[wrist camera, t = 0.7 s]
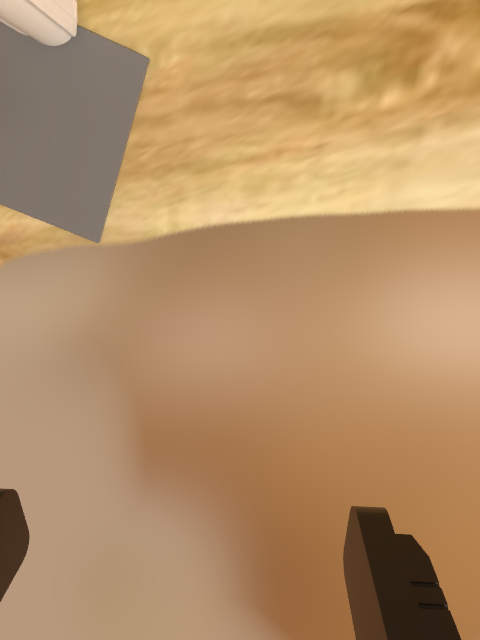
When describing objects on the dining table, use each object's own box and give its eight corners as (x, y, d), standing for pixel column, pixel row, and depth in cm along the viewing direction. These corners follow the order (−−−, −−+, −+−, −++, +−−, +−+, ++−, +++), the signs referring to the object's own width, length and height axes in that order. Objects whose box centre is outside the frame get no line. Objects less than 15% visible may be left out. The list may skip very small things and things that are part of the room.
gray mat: (-83, -48, 27) (-88, -51, 27) (149, 59, 29) (148, 57, 29) (-97, 163, 33) (-102, 163, 32) (99, 241, 34) (97, 243, 34)
